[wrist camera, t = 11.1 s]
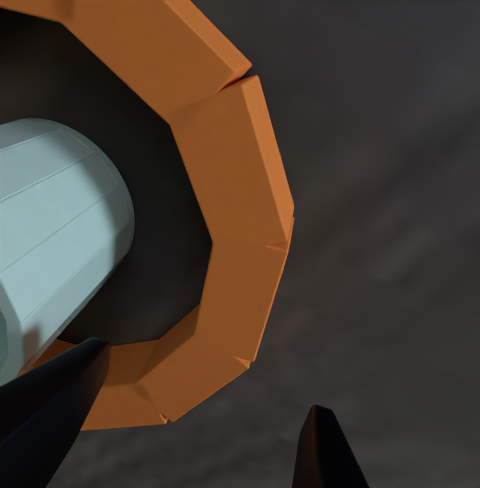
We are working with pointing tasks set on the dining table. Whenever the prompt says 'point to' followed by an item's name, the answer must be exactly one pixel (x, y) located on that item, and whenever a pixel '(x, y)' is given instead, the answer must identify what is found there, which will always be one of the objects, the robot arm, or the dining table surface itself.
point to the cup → (54, 234)
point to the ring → (207, 193)
